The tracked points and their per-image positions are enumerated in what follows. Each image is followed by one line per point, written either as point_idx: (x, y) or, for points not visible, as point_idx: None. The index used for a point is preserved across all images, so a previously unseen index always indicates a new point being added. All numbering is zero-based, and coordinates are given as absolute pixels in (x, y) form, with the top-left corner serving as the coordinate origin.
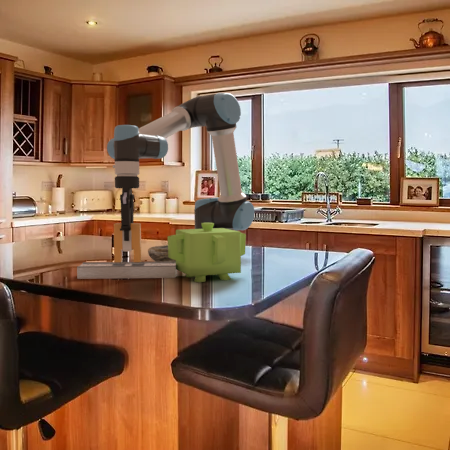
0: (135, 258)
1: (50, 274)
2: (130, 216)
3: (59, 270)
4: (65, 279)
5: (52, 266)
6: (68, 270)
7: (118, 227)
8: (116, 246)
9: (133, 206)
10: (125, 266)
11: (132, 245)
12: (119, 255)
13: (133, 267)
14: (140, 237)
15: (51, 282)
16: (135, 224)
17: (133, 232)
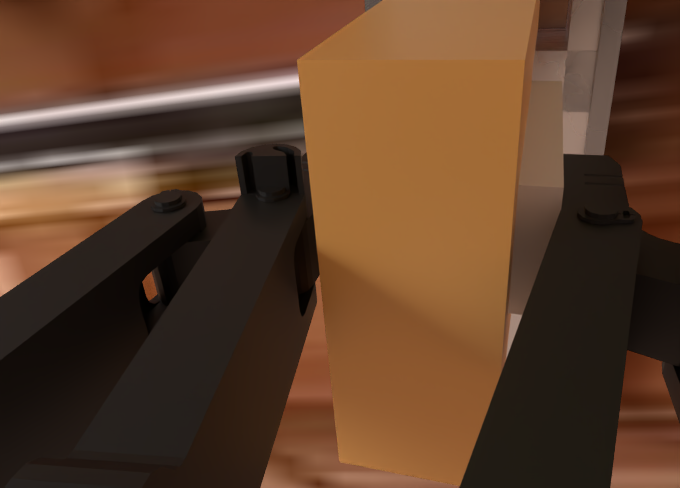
0: (538, 16)
1: (403, 478)
2: (558, 366)
3: (291, 447)
4: None
5: None
6: (288, 413)
7: None
8: None
9: (86, 485)
10: (610, 94)
11: (530, 89)
12: None
13: (625, 11)
14: (440, 2)
15: (650, 475)
16: (514, 155)
17: (523, 136)
